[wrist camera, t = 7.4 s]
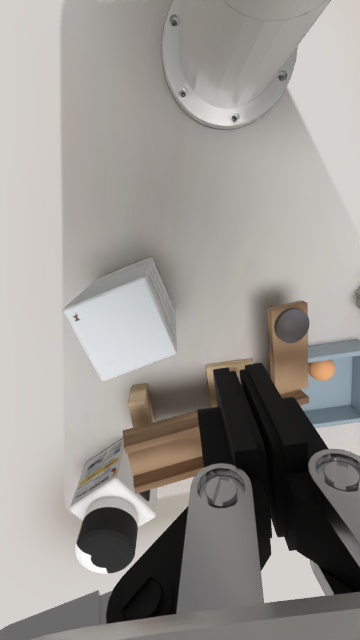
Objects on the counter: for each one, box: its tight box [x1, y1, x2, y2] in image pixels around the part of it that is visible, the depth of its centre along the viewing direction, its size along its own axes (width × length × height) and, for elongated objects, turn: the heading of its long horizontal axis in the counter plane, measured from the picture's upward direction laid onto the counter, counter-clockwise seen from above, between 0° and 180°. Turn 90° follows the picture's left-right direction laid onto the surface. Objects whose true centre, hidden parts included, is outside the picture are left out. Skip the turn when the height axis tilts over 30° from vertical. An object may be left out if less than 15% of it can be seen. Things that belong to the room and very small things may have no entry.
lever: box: [123, 301, 309, 494], centre depth 33 cm, size 17×21×3 cm
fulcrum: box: [206, 359, 253, 407], centre depth 39 cm, size 9×6×6 cm, turn 8°
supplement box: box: [62, 257, 177, 382], centre depth 31 cm, size 7×7×13 cm
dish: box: [300, 339, 360, 428], centre depth 40 cm, size 10×10×4 cm
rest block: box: [128, 383, 155, 428], centre depth 40 cm, size 6×2×4 cm, turn 8°
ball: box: [308, 360, 335, 381], centre depth 39 cm, size 3×3×3 cm
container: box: [70, 438, 157, 574], centre depth 39 cm, size 8×8×13 cm
